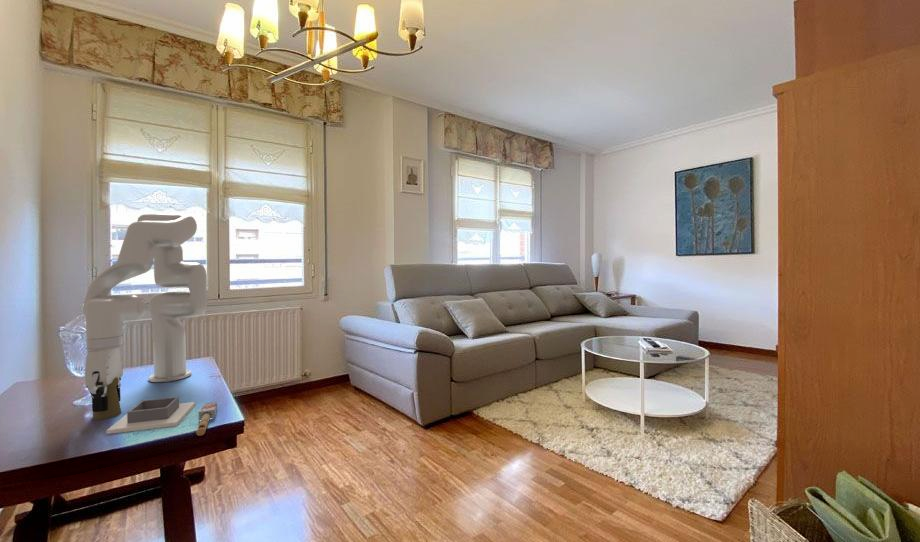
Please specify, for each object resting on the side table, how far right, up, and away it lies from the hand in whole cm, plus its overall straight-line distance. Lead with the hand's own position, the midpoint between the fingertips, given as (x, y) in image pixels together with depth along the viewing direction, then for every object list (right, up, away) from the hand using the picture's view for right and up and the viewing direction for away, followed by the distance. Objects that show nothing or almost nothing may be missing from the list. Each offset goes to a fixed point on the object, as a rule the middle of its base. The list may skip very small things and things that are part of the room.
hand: (106, 405), depth 109 cm
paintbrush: (+30, -3, -3) cm, 30 cm away
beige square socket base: (+15, -3, -2) cm, 15 cm away
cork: (0, -3, 0) cm, 3 cm away
